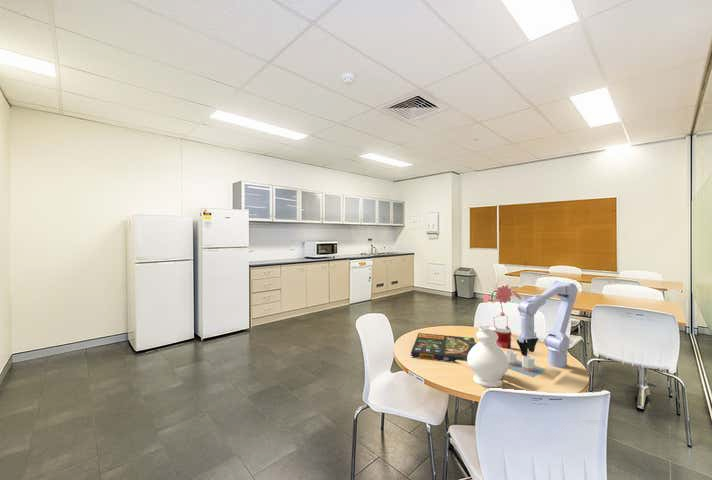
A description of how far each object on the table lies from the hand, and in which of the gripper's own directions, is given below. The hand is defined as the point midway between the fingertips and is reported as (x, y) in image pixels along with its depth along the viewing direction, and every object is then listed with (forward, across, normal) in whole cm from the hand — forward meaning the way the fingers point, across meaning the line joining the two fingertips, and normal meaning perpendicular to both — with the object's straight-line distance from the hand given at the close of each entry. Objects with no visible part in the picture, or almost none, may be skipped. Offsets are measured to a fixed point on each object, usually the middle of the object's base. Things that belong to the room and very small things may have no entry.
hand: (527, 353), depth 149 cm
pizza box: (+10, -7, +44) cm, 46 cm away
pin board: (+9, 0, +4) cm, 10 cm away
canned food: (+10, +22, +24) cm, 34 cm away
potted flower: (+10, +43, +34) cm, 55 cm away
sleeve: (+8, 0, 0) cm, 8 cm away
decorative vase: (+9, -24, +8) cm, 27 cm away
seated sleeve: (+8, 0, +8) cm, 11 cm away
